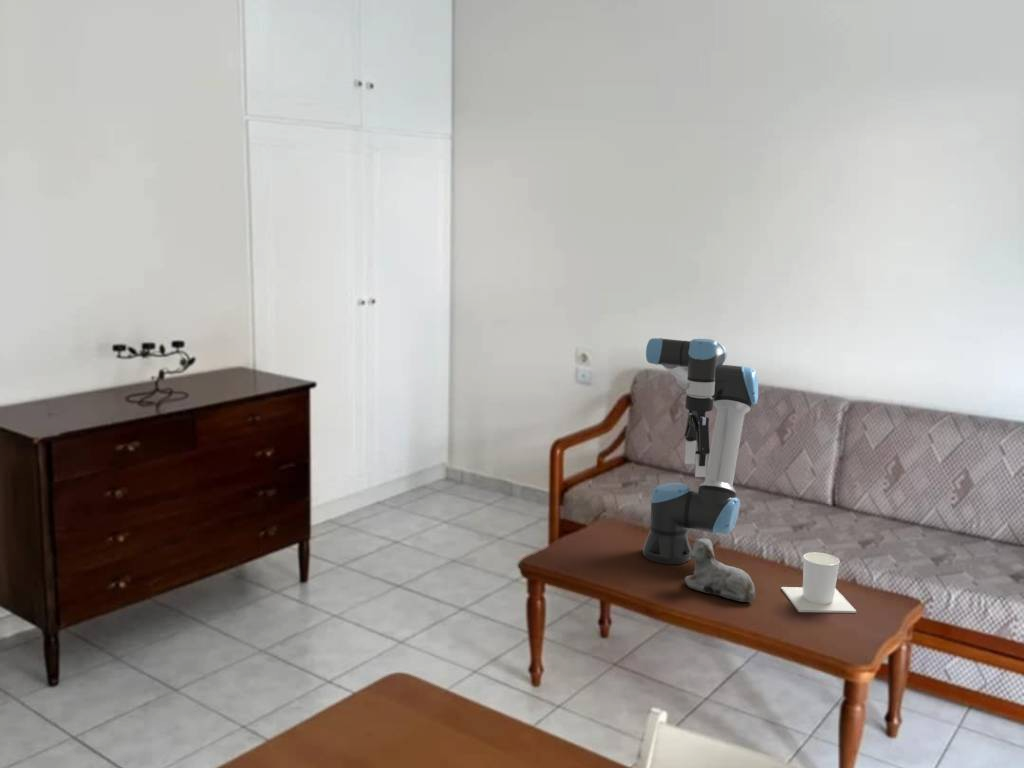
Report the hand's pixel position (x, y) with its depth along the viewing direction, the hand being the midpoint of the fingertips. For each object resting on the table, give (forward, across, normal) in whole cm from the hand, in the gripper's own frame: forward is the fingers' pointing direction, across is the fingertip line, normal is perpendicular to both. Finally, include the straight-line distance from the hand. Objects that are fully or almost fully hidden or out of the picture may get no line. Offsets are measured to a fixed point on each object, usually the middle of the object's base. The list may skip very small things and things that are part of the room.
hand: (694, 470), depth 262 cm
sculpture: (+37, -1, +10) cm, 38 cm away
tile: (+37, +3, +37) cm, 52 cm away
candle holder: (+36, +3, +37) cm, 52 cm away
